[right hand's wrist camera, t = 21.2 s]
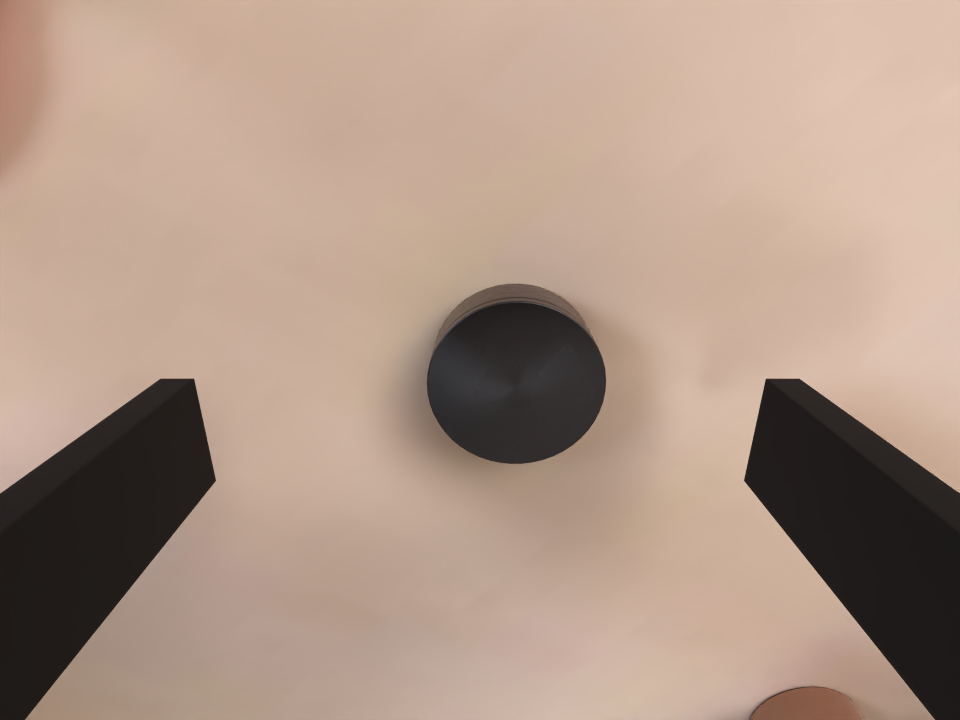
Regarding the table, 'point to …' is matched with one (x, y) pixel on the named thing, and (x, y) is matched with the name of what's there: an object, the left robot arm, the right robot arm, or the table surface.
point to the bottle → (808, 706)
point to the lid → (515, 375)
